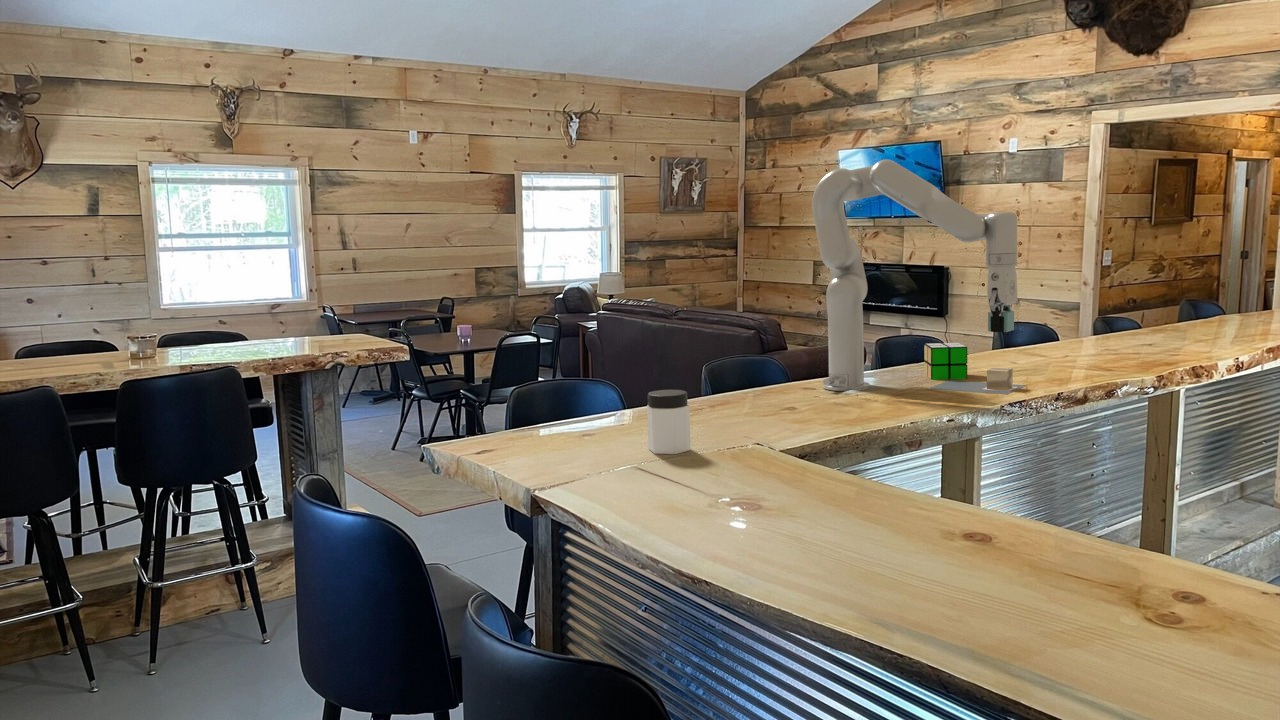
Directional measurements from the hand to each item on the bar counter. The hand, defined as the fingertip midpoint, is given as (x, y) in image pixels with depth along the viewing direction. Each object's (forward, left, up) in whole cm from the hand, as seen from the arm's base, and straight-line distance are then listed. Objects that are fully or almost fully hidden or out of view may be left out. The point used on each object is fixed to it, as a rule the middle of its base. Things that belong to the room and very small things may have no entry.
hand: (1001, 330), depth 241 cm
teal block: (0, 0, 0) cm, 0 cm away
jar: (-97, +35, -16) cm, 105 cm away
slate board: (0, +6, -16) cm, 17 cm away
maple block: (0, 0, -15) cm, 15 cm away
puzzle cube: (+14, +20, -17) cm, 30 cm away
